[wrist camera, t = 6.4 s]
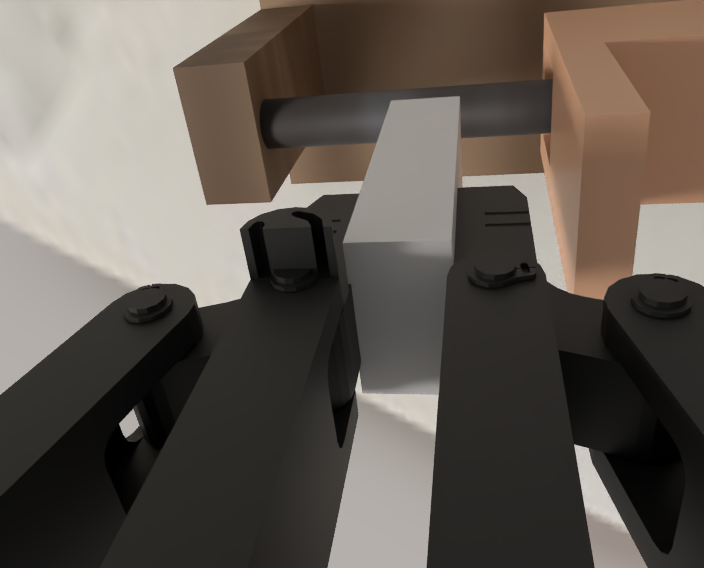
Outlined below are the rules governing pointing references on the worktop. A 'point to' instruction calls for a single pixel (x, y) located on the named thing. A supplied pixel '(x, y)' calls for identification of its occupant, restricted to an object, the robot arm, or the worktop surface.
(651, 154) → the tan wooden l-shaped block
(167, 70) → the worktop surface
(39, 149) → the worktop surface
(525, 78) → the brown rod stand
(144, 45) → the worktop surface
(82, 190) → the worktop surface
